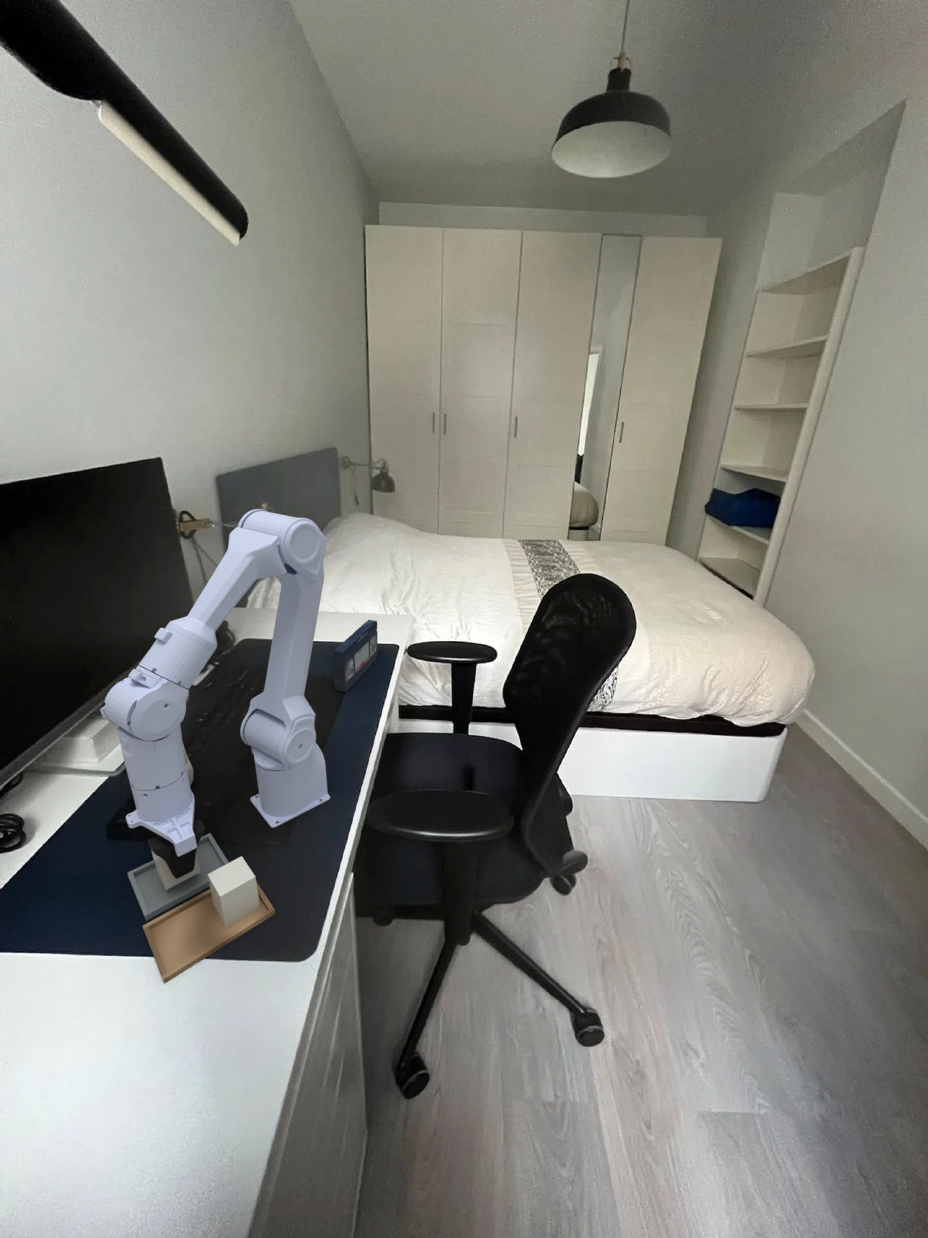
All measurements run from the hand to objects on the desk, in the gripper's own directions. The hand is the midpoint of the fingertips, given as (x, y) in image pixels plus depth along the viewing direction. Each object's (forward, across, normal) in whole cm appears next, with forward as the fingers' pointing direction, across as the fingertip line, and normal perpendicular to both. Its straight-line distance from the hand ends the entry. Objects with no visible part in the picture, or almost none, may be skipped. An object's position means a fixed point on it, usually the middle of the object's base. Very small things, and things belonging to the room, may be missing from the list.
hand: (178, 861), depth 64 cm
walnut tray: (+3, +9, 0) cm, 9 cm away
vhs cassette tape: (+3, -33, +47) cm, 58 cm away
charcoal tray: (+3, 0, 0) cm, 3 cm away
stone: (+2, +9, +4) cm, 10 cm away
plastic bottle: (+3, -18, +4) cm, 19 cm away
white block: (+1, 0, 0) cm, 1 cm away
